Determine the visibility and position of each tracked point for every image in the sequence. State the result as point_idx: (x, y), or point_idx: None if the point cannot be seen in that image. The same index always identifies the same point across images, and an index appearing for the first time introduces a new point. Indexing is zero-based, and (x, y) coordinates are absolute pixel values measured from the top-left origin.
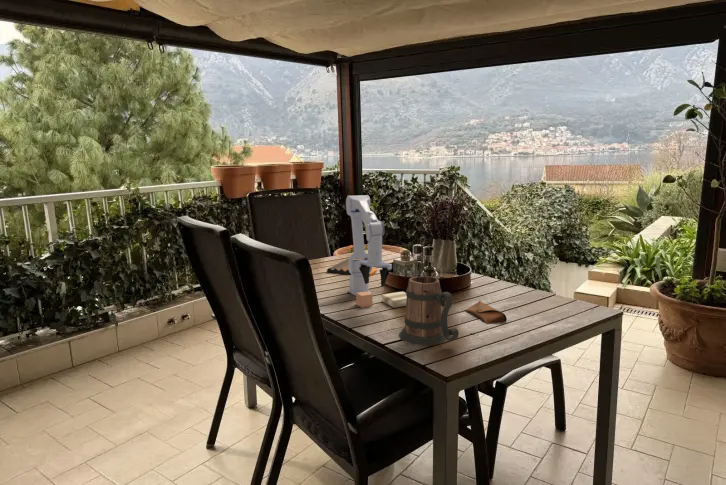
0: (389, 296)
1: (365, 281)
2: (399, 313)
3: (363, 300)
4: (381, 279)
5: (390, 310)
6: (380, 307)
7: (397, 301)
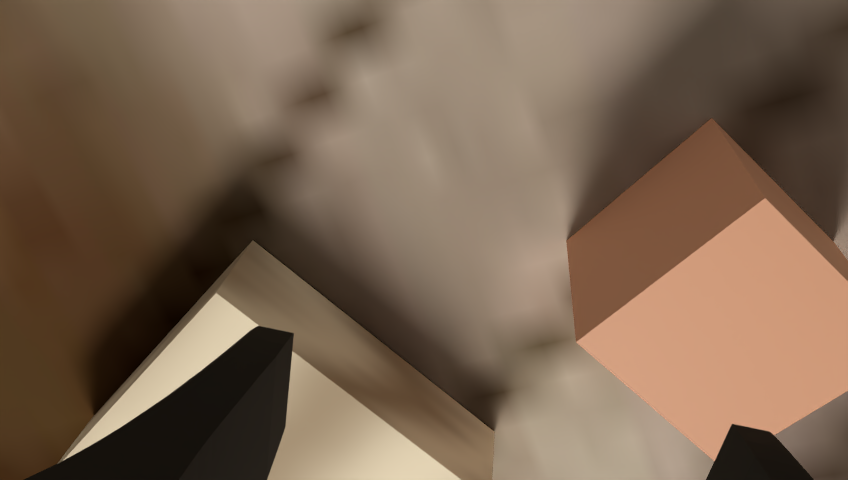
0: (357, 443)
1: (768, 463)
2: (70, 25)
3: (706, 186)
4: (192, 428)
5: (243, 115)
6: (427, 199)
7: (191, 316)
